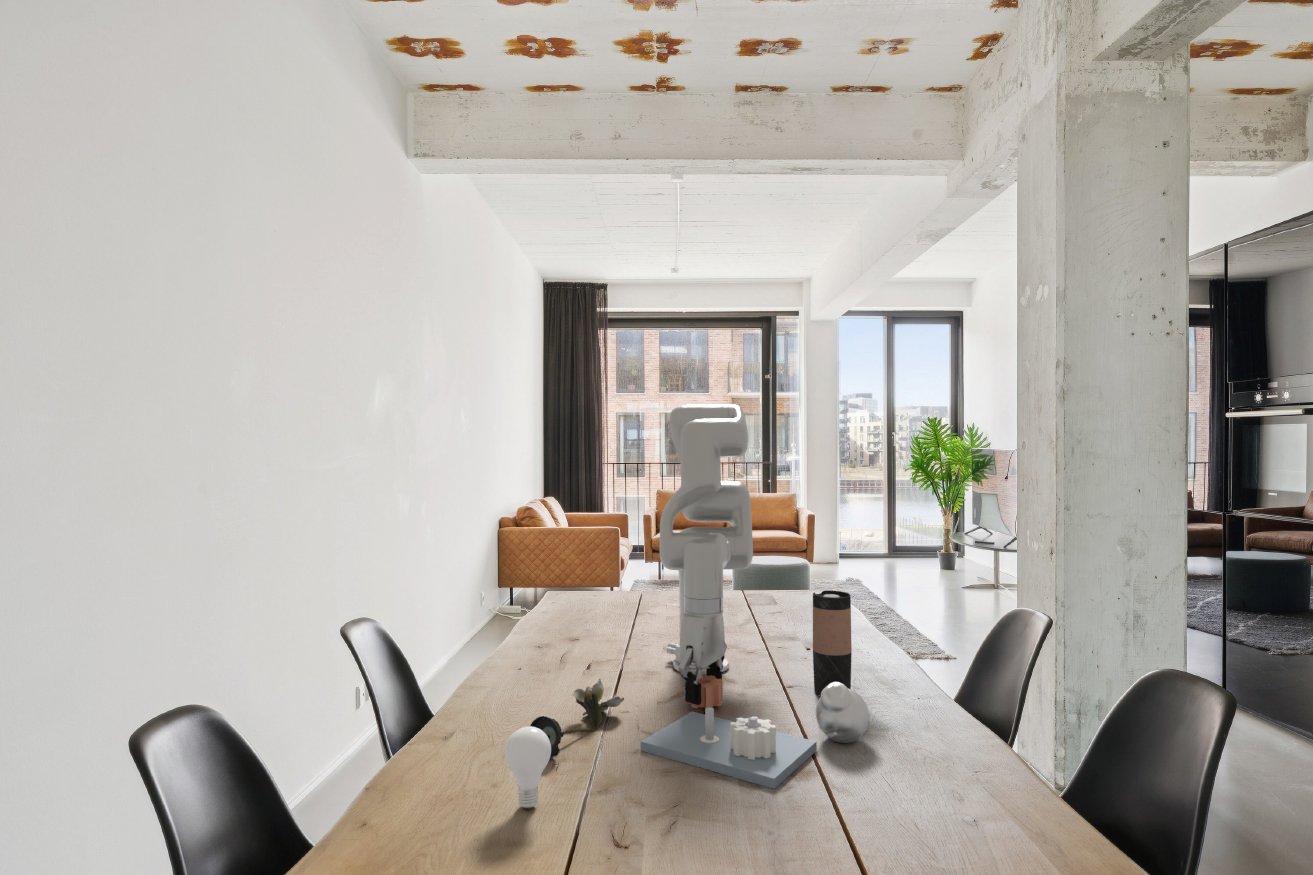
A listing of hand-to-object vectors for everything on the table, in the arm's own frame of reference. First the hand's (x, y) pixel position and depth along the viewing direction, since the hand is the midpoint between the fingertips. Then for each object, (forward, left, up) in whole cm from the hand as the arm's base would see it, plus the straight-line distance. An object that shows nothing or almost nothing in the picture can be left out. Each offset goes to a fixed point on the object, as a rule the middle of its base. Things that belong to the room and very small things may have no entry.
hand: (703, 695), depth 139 cm
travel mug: (+18, +21, -2) cm, 28 cm away
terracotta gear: (0, 0, -1) cm, 1 cm away
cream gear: (+19, -16, -1) cm, 24 cm away
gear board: (+14, -15, -2) cm, 20 cm away
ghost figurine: (+28, -1, -2) cm, 28 cm away
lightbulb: (0, -47, -2) cm, 47 cm away
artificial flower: (-12, -23, -3) cm, 26 cm away
